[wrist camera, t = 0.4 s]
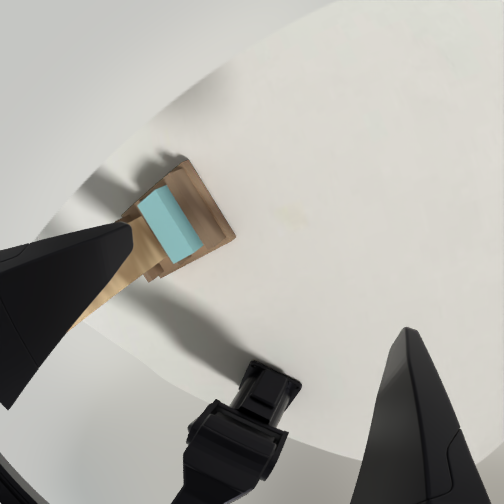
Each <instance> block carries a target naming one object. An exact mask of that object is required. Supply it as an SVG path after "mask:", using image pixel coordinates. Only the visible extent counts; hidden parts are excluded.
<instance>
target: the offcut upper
mask: <svg viewBox="0 0 504 504" xmlns="http://www.w3.org/2000/svg"><path fill="white" fill-rule="evenodd" d="M137 206H138V208H139V209H140V211H141V213H142V214H143V216H144V218H145V219H146V221H147V223H148V224H149V226H150V227H151V229H152V231H153V232H154V234H155V235H156V237H157V239H158V240H159V242H160V243H161V245H162V247H163V248H164V250H165V251H166V253H167V254H168V256H169V258H170V259H171V261H172V262H173V264H175V263H176V262H178V261H180V260H182V259H184V258H185V257H187V256H189V255H191V254H193V253H194V252H196V251H197V250H198V249H199V248H201V247H202V246H203V245H204V244H203V243H202V241H201V240H200V238H199V237H198V235H197V233H196V232H195V230H194V229H193V227H192V225H191V224H190V222H189V221H188V219H187V217H186V216H185V214H184V213H183V211H182V209H181V208H180V206H179V204H178V203H177V201H176V200H175V198H174V196H173V195H172V193H171V191H170V190H169V188H168V187H167V185H165V186H163V187H160V188H158V189H156V190H154V191H153V192H152V193H151V194H150V195H148V196H147V197H146V198H145V199H144V200H143V201H142V202H140V203H139V204H138V205H137Z"/></svg>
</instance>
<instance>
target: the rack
mask: <svg viewBox="0 0 504 504" xmlns="http://www.w3.org/2000/svg"><path fill="white" fill-rule="evenodd" d="M165 185H168V187H169V189H170V190H171V192H172V194H173V195H174V197H175V198H176V200H177V202H178V203H179V205H180V207H181V208H182V210H183V211H184V213H185V215H186V216H187V218H188V219H189V221H190V223H191V224H192V226H193V227H194V229H195V231H196V232H197V234H198V235H199V237H200V239H201V240H202V242H203V243H204V245H203V246H202V247H201V248H199V249H198V250H197V251H196V252H194V253H193V254H191V255H189V256H187V257H185V258H184V259H182V260H180V261H178V262H176V263H175V264H173V262H172V261H171V259H170V258H169V256H168V254H167V253H166V251H165V250H164V248H163V247H162V245H161V243H160V242H159V240H158V239H157V237H156V235H155V234H154V232H153V231H152V229H151V227H150V226H149V224H148V223H147V221H146V219H145V218H144V216H143V214H142V213H141V211H140V209H139V208H138V206H137V205H138V204H139V203H140V202H142V201H143V200H144V199H145V198H146V197H147V196H148V195H150V194H151V193H152V192H153V191H154V190H156V189H158V188H160V187H163V186H165ZM121 216H122V218H121V219H119V220H117V221H115V222H124V223H129V222H131V221H133V220H135V219H137V218H139V217H141V216H142V217H143V219H144V221H145V222H146V224H147V225H148V227H149V229H150V230H151V232H152V234H153V235H154V237H155V238H156V240H157V242H158V243H159V245H160V246H161V248H162V249H163V251H164V253H165V254H166V256H167V257H166V258H164V259H163V260H162V261H160V262H159V263H157V264H156V265H155V266H153V267H152V268H151V269H149V270H148V271H147V272H145V273H144V274H143V275H144V277H145V278H146V280H147V281H148V282H150V281H152V280H153V279H155V278H156V277H157V276H159V277H160V278H162V277H164V276H166V275H168V274H170V273H172V272H174V271H176V270H177V269H179V268H181V267H183V266H185V265H187V264H189V263H191V262H193V261H194V260H196V259H198V258H200V257H202V256H204V255H206V254H208V253H210V252H212V251H214V250H215V249H217V248H219V247H221V246H223V245H225V244H227V243H229V242H231V241H232V240H233V239H234V238H236V236H235V234H234V232H233V231H232V229H231V228H230V226H229V224H228V223H227V221H226V219H225V218H224V216H223V215H222V213H221V211H220V210H219V208H218V207H217V205H216V203H215V202H214V200H213V199H212V197H211V195H210V194H209V192H208V190H207V189H206V187H205V186H204V184H203V182H202V181H201V179H200V177H199V176H198V174H197V173H196V171H195V169H194V168H193V166H192V165H191V163H190V161H189V160H187V161H184V162H181V163H180V164H179V165H178V166H177V167H175V168H174V169H173V170H172V171H171V172H169V173H168V174H167V175H166V176H165V177H164V178H162V179H161V180H160V181H159V182H158V183H157V184H155V185H154V186H153V187H152V188H151V189H150V190H149V191H148V192H146V193H145V194H144V195H143V196H142V197H141V198H140V199H139V200H137V201H136V202H135V203H134V204H133V205H132V206H131V207H130V208H129V209H128V210H127V211H126V212H124V213H123V214H122V215H121ZM115 222H114V223H115Z"/></svg>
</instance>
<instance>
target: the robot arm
mask: <svg viewBox="0 0 504 504" xmlns="http://www.w3.org/2000/svg"><path fill="white" fill-rule="evenodd" d="M133 246H134V244H133V233H132V227H131V225H129V224H127V223H124V222H115V223H111V224H106V225H102V226H97V227H93V228H89V229H84V230H80V231H76V232H72V233H68V234H63V235H59V236H55V237H51V238H47V239H43V240H39V241H36V242H32V243H30V244H24V245H20V246H16V247H12V248H9V249H4V250H0V403H2V405H3V406H4V407H5V408H6V409H7V410H9V409H10V408H11V406H12V405H13V404H14V402H15V401H16V399H17V398H18V396H19V395H20V394H21V392H22V391H23V389H24V388H25V387H26V385H27V384H28V382H29V381H30V380H31V378H32V377H33V375H34V374H35V373H36V372H37V370H38V368H39V367H40V366H41V365H42V363H43V362H44V361H45V359H46V358H47V357H48V356H49V354H50V353H51V352H52V350H53V349H54V348H55V346H56V345H57V344H58V343H59V342H60V340H61V339H62V338H63V336H64V335H65V334H66V333H67V332H68V330H69V329H70V328H71V327H72V325H73V324H74V323H75V322H76V321H77V319H78V318H79V317H80V316H81V315H82V313H83V312H84V311H85V310H86V309H87V307H88V306H89V305H90V304H91V303H92V302H93V300H94V299H95V298H96V297H97V296H98V295H99V293H100V292H101V291H102V290H103V289H104V288H105V287H106V285H107V284H108V283H109V282H110V280H111V279H112V278H113V276H114V275H115V274H116V272H117V271H118V269H119V268H120V267H121V265H122V264H123V263H124V261H125V260H126V259H127V257H128V256H129V255H130V253H131V252H132V250H133ZM301 388H302V384H300V383H299V382H297V381H294V380H292V379H290V378H288V377H286V376H284V375H282V374H280V373H278V372H276V371H274V370H272V369H270V368H268V367H266V366H264V365H262V364H260V363H258V362H256V361H251V362H250V364H249V366H248V368H247V371H246V373H245V375H244V377H243V380H242V382H241V384H240V387H239V392H238V393H237V395H236V396H235V398H234V400H233V401H232V403H231V404H230V406H227V405H225V404H223V403H221V402H220V401H219V400H217V399H215V401H214V402H213V403H211V404H209V405H208V406H207V408H206V409H205V410H204V412H203V413H202V414H201V415H200V416H199V417H198V418H197V419H195V420H194V421H193V422H192V423H191V424H190V425H189V426H188V432H189V434H188V438H187V441H186V443H187V444H188V447H187V448H186V450H185V452H184V454H183V478H184V485H183V487H182V488H181V490H180V491H179V493H178V494H177V496H176V497H175V499H174V500H173V502H172V503H171V504H230V503H232V502H234V501H236V500H238V499H240V498H241V497H243V496H245V495H247V494H248V493H249V492H250V491H252V490H253V489H254V488H255V486H256V485H257V483H258V481H259V479H260V480H263V481H265V480H266V479H267V478H268V476H269V475H270V473H271V472H272V470H273V468H274V466H275V464H276V462H277V460H278V458H279V456H280V453H281V451H282V448H283V446H284V443H285V441H286V438H287V436H288V433H289V432H287V431H282V430H280V429H277V428H276V427H277V425H278V423H279V421H280V419H281V417H282V415H283V413H284V411H285V410H286V409H287V408H288V406H289V405H290V404H291V402H292V401H293V400H294V398H295V397H296V395H297V394H298V393H299V391H300V390H301ZM0 503H1V504H49V503H48V502H47V501H46V500H45V499H44V498H43V497H41V496H40V495H39V494H38V493H37V492H36V491H35V490H34V489H33V488H32V487H31V486H30V485H29V484H28V483H27V482H26V481H25V480H24V479H23V478H22V477H21V476H20V475H19V474H18V472H17V471H16V470H15V469H14V468H13V467H12V466H11V465H10V464H9V462H8V461H7V460H6V459H5V458H4V457H3V455H2V454H1V453H0ZM350 504H491V502H490V499H489V497H488V495H487V493H486V489H485V487H484V485H483V482H482V480H481V478H480V475H479V473H478V471H477V468H476V466H475V463H474V461H473V459H472V456H471V454H470V451H469V448H468V446H467V443H466V441H465V438H464V435H463V432H462V430H461V429H460V425H459V422H458V420H457V417H456V415H455V412H454V410H453V407H452V405H451V402H450V400H449V397H448V395H447V393H446V390H445V388H444V386H443V383H442V381H441V379H440V377H439V374H438V372H437V370H436V368H435V366H434V363H433V361H432V359H431V357H430V355H429V353H428V351H427V349H426V347H425V344H424V342H423V340H422V338H421V336H420V334H419V332H418V331H417V330H415V329H412V328H409V327H404V328H403V329H402V331H401V332H400V334H399V335H398V337H397V338H396V340H395V341H394V343H393V344H392V346H391V348H390V351H389V355H388V359H387V362H386V366H385V370H384V373H383V377H382V381H381V384H380V387H379V391H378V394H377V398H376V403H375V408H374V413H373V418H372V423H371V427H370V432H369V436H368V441H367V445H366V449H365V453H364V457H363V461H362V465H361V468H360V472H359V476H358V479H357V483H356V486H355V489H354V493H353V496H352V499H351V502H350Z"/></svg>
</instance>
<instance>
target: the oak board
mask: <svg viewBox="0 0 504 504" xmlns="http://www.w3.org/2000/svg"><path fill="white" fill-rule="evenodd" d="M127 224H129V225H131V227H132V233H133V244H134V246H133V250H132V252H131V253H130V255H129V256H128V257H127V259H126V260H125V261H124V263H123V264H122V265H121V267H120V268H119V269H118V271H117V272H116V274H115V275H114V276H113V278H112V279H111V280H110V282H109V283H108V284H107V285H106V287H105V288H104V289H103V290H102V291H101V292H100V293H99V295H98V296H97V297H96V298H95V299H94V300H93V302H92V303H91V304H90V305H89V306H88V307H87V309H86V310H85V311H84V312H83V313H82V315H81V316H80V317H79V318H78V319H77V321H76V322H75V323H74V324H73V325H72V327H71V328H70V329H72V328H73V327H74V326H76V325H77V324H78V323H79V322H81V321H82V320H83V319H85V318H86V317H87V316H88V315H90V314H91V313H92V312H94V311H95V310H96V309H97V308H99V307H100V306H101V305H103V304H104V303H105V302H107V301H108V300H109V299H111V298H112V297H113V296H114V295H116V294H117V293H118V292H120V291H121V290H122V289H124V288H125V287H126V286H128V285H129V284H130V283H132V282H133V281H134V280H136V279H137V278H138V277H140V276H141V275H142V274H144V273H145V272H147V271H148V270H149V269H151V268H152V267H153V266H155V265H156V264H157V263H159V262H160V261H162V260H163V259H164V258H166V257H167V256H166V254H165V253H164V251H163V249H162V248H161V246H160V245H159V243H158V242H157V240H156V238H155V237H154V235H153V234H152V232H151V230H150V229H149V227H148V225H147V224H146V222H145V221H144V219H143V217H142V216H141V217H139V218H137V219H135V220H133V221H131V222H129V223H127ZM70 329H69V330H70ZM69 330H68V331H69Z"/></svg>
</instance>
